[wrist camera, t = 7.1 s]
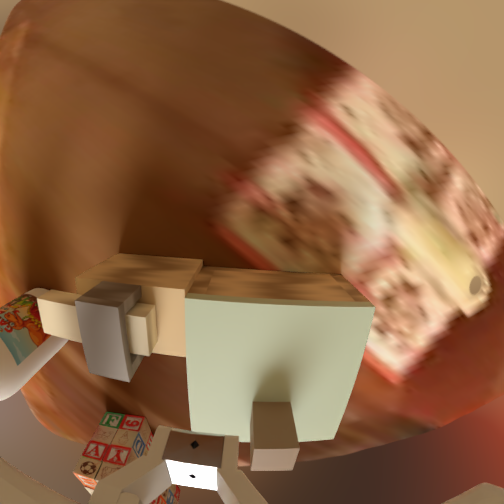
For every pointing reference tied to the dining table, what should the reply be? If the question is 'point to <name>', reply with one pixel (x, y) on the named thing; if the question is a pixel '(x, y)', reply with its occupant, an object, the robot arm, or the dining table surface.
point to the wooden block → (66, 324)
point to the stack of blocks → (118, 452)
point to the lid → (272, 370)
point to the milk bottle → (23, 342)
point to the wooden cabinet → (175, 301)
